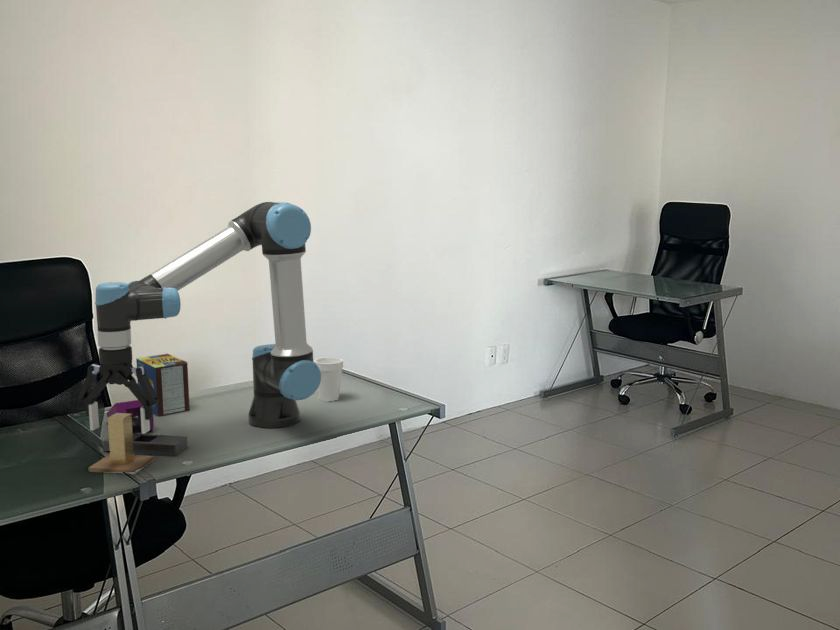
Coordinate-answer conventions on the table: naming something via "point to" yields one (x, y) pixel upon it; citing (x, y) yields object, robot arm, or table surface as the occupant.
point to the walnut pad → (134, 465)
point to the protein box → (167, 382)
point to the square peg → (120, 438)
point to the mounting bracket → (130, 410)
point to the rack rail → (155, 444)
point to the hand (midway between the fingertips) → (120, 430)
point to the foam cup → (329, 377)
